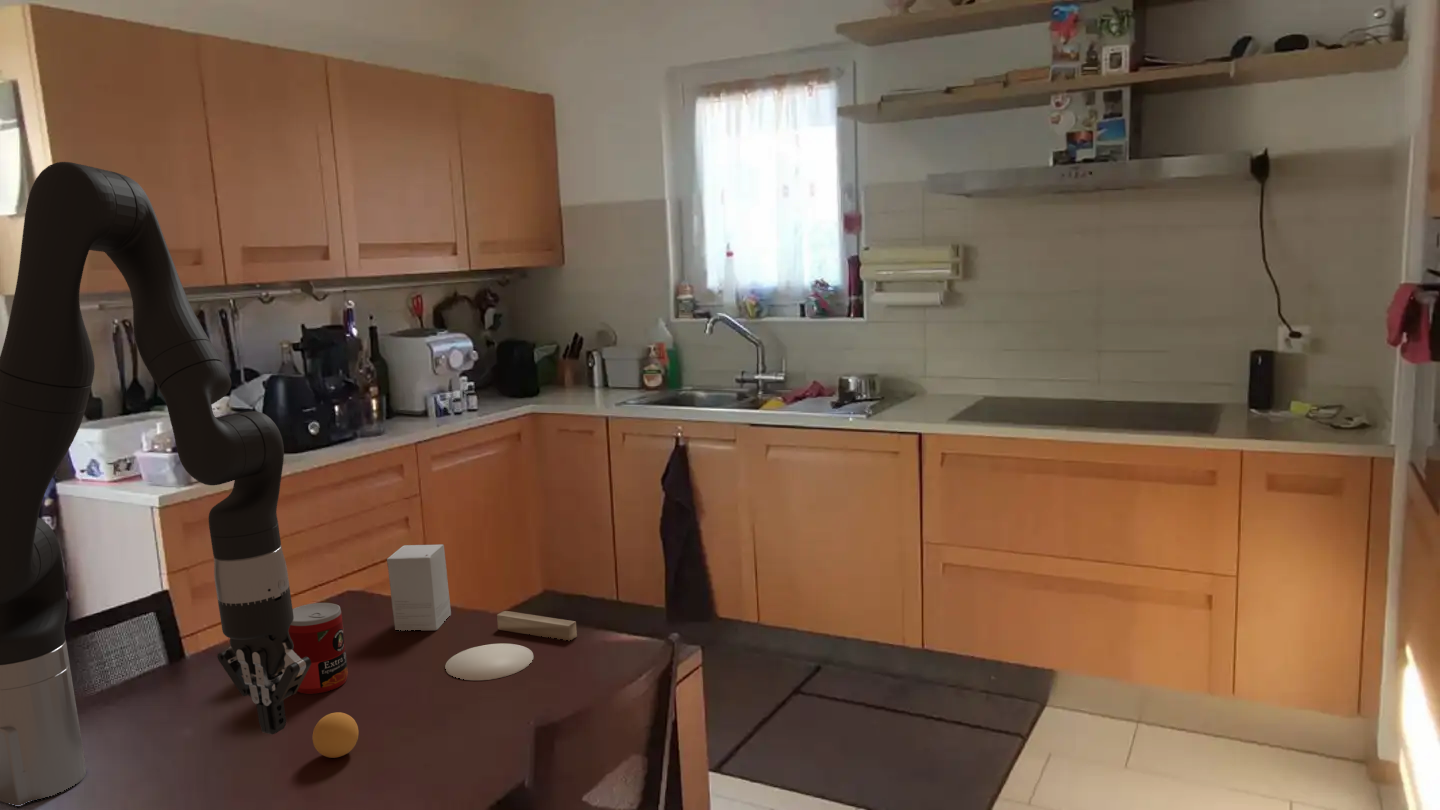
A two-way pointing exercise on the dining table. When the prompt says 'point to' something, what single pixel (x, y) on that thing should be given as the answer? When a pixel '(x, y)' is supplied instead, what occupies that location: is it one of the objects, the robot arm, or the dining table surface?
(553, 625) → the stopper wall
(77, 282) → the robot arm
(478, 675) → the disc
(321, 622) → the canned food
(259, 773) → the dining table surface
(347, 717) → the ball
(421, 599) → the supplement box
